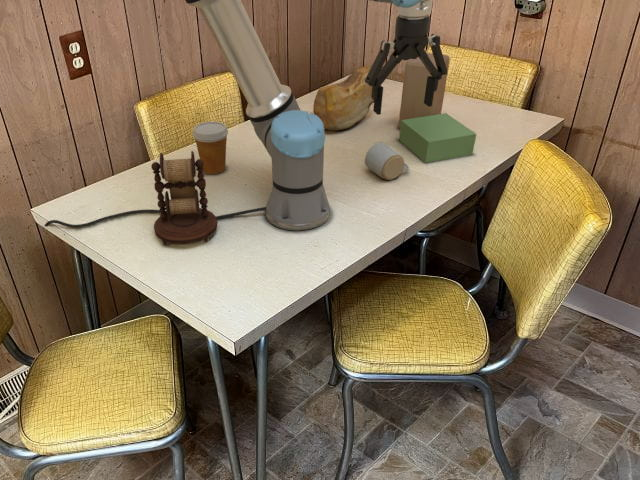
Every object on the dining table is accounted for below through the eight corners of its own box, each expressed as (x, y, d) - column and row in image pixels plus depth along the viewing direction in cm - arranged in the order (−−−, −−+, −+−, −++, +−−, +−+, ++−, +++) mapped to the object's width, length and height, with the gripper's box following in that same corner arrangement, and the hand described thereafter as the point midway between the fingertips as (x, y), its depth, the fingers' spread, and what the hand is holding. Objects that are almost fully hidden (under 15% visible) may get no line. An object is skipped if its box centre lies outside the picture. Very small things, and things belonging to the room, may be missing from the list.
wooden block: (440, 122, 178) (451, 54, 166) (429, 135, 172) (440, 64, 160) (408, 117, 183) (416, 50, 170) (396, 129, 177) (404, 60, 164)
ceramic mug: (381, 184, 150) (384, 156, 145) (362, 172, 156) (365, 144, 151) (414, 175, 153) (419, 147, 149) (395, 163, 159) (399, 136, 155)
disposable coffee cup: (238, 167, 163) (235, 126, 155) (213, 180, 158) (209, 138, 150) (213, 158, 168) (210, 118, 161) (189, 171, 163) (184, 129, 155)
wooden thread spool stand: (218, 214, 143) (210, 136, 131) (217, 247, 132) (209, 166, 119) (158, 218, 144) (145, 141, 131) (152, 252, 132) (137, 170, 120)
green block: (425, 163, 158) (428, 141, 155) (398, 140, 171) (401, 120, 167) (472, 154, 161) (476, 133, 157) (442, 132, 173) (445, 112, 169)
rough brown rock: (347, 105, 196) (345, 58, 187) (385, 114, 185) (386, 64, 176) (295, 127, 186) (291, 79, 177) (333, 138, 175) (331, 87, 166)
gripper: (368, 26, 127) (361, 121, 140) (473, 12, 131) (456, 106, 144) (355, 18, 132) (349, 110, 146) (455, 5, 136) (440, 96, 150)
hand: (402, 108), depth 145 cm, fingers open, 13 cm apart
